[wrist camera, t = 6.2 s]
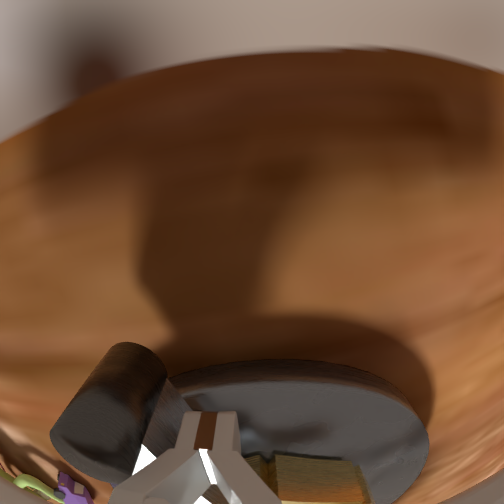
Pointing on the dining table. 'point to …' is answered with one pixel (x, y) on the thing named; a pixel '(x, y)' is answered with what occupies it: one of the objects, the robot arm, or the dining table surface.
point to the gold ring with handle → (173, 434)
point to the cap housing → (316, 416)
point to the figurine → (68, 491)
